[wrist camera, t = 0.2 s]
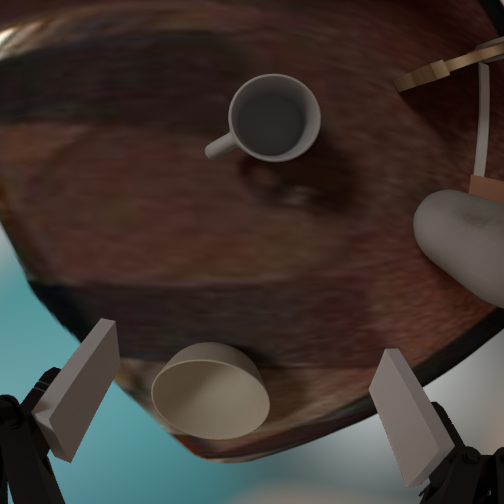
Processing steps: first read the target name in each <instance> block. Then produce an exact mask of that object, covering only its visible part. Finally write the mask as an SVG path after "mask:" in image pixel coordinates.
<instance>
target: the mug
mask: <svg viewBox="0 0 504 504" xmlns="http://www.w3.org/2000/svg"><path fill="white" fill-rule="evenodd" d="M229 126H230V132H229V133H228V134H226V135H225V136H223V137H221V138H219V139H217V140H216V141H214V142H212V143H211V144H209V145H208V146H207V147H206V148H205V154H206V156H207V157H208V158H209V159H211V160H213V159H216V158H218V157H220V156H222V155H224V154H226V153H228V152H230V151H232V150H234V149H236V148H238V147H240V148H241V149H242V150H244V151H245V152H246V153H248V154H249V155H251V156H253V157H255V158H257V159H260V160H263V161H268V162H283V161H288V160H291V159H294V158H296V157H298V156H300V155H302V154H303V153H304V152H306V151H307V150H308V149H309V148H310V147H311V145H312V144H313V143H314V141H315V140H316V138H317V136H318V133H319V130H320V126H321V112H320V108H319V104H318V102H317V100H316V98H315V96H314V95H313V93H312V92H311V91H310V90H309V88H307V87H306V86H305V85H304V84H303V83H301V82H300V81H298V80H296V79H295V78H292V77H290V76H286V75H281V74H266V75H262V76H258V77H256V78H253V79H251V80H250V81H248V82H247V83H245V84H244V85H243V86H242V87H241V88H240V89H239V90H238V91H237V93H236V94H235V96H234V97H233V99H232V102H231V104H230V108H229Z"/></svg>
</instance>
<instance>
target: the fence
mask: <svg viewBox="0 0 504 504" xmlns="http://www.w3.org/2000/svg"><path fill="white" fill-rule="evenodd" d="M502 41H504V37H501V38H498V39H494V40H491V41H488V42H485V43H482V44H480V45H477V46H476V47H475V50H477V49H480V48H483V47H486V46H489V45H492V44H496V43H499V42H502ZM500 59H504V55H502V56H498V57H494V58H490V59H486V60H483V61H481V62H478V64H479V119H478V136H477V148H476V158H475V167H474V174H473V175H471V180H470V186H469V193H468V194H472V195H475V196H478V197H482V198H486V199H490V200H493V201H496V202H500V203H503V204H504V182H503V181H499V180H495V179H490V178H486V177H484V173H485V165H486V155H487V144H488V130H489V100H490V92H489V66H487V65H485V64H484V63H488V62H492V61H496V60H500ZM482 62H483V63H482Z"/></svg>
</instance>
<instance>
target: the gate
mask: <svg viewBox="0 0 504 504" xmlns="http://www.w3.org/2000/svg"><path fill="white" fill-rule="evenodd" d="M502 55H504V41H502V42H499V43H496V44H492V45H489V46H486V47H483V48H480V49H477V50H474V51H471V52H468V53H467V55H464V56H461V57H458V58H455V59H452V60H449V61H446V62H443V60H440V61H437V62H435V63H432V64H429V65H427V66H424V67H422V68H419V69H417V70H415V71H412V72H410V73H408V74H405V75H403V76H401V77H398V78H396V79H394V80H393V82H394V84H395V86H396V87H397V89H398V91H399V92H401V91H404V90H407V89H410V88H413V87H416V86H419V85H422V84H425V83H428V82H432V81H435V80H438V79H441V78H443V77H446V76H448V75H450V73H449V72H450V71H453V70H455V69H458V68H461V67H464V66H466V65H469V64H472V63H476V62H479V61H483V60H486V59H490V58H494V57H498V56H502Z"/></svg>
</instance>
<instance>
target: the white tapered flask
mask: <svg viewBox="0 0 504 504" xmlns="http://www.w3.org/2000/svg"><path fill="white" fill-rule="evenodd" d="M413 227H414V234H415V238H416V241H417V244H418V245H419V247H420V249H421V250H422V251H423V253H424V254H425V255H426V256H427V257H428V258H429V259H430V260H431V261H433V262H434V263H435V264H436V265H438V266H439V267H440V268H442V269H443V270H444V271H446V272H447V273H448V274H449V275H451V276H452V277H453V278H454V279H455V280H457V281H458V282H459V283H460V284H461V285H463V286H464V287H465V288H466V289H468V290H469V291H470V292H472V293H473V294H474V295H476V296H477V297H479V298H480V299H482V300H484V301H486V302H488V303H490V304H493V305H495V306H498V307H501V308H504V204H503V203H500V202H496V201H493V200H490V199H486V198H482V197H478V196H474V195H471V194H467V193H464V192H460V191H456V190H442V191H438V192H435V193H432V194H430V195H428V196H427V197H426V198H425V199H424V200H423V201H422V202H421V203H420V205H419V206H418V208H417V210H416V212H415V215H414V220H413Z"/></svg>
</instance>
